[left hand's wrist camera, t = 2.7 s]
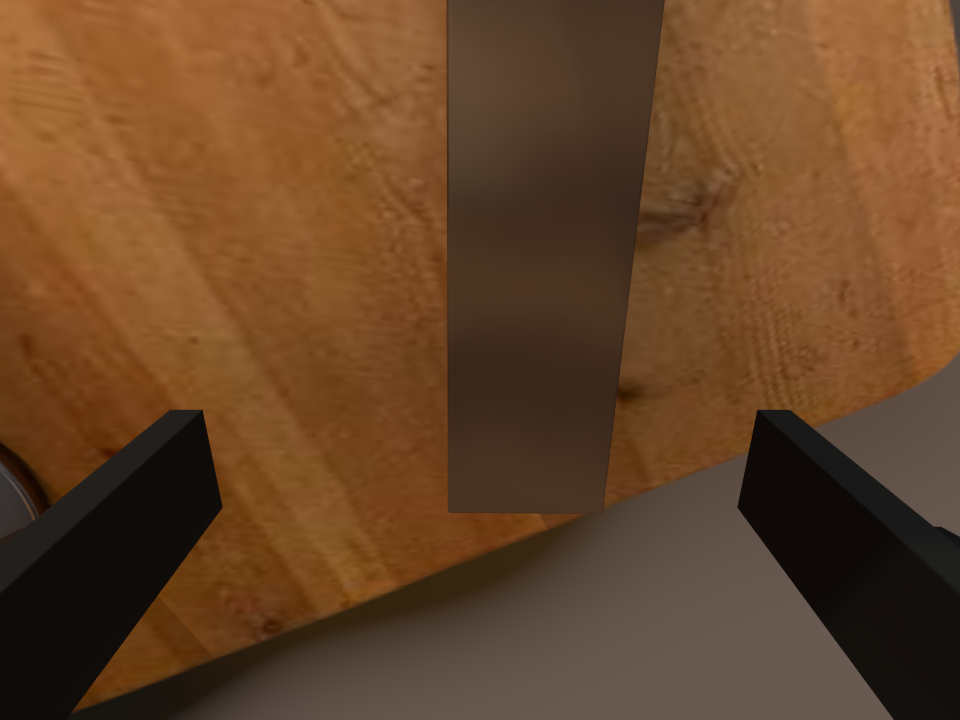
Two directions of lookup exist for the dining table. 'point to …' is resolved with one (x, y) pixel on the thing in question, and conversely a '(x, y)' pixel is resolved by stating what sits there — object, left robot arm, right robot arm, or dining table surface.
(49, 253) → the dining table surface
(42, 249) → the dining table surface
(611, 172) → the box
